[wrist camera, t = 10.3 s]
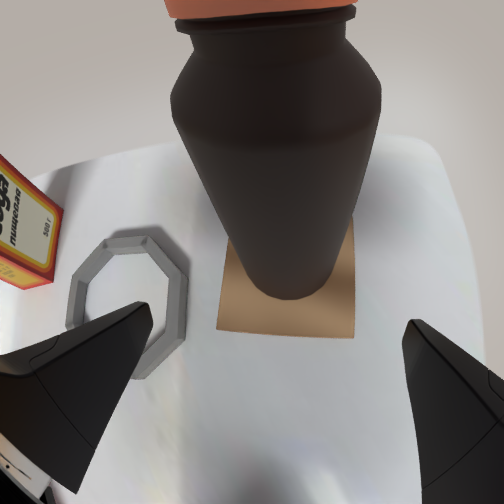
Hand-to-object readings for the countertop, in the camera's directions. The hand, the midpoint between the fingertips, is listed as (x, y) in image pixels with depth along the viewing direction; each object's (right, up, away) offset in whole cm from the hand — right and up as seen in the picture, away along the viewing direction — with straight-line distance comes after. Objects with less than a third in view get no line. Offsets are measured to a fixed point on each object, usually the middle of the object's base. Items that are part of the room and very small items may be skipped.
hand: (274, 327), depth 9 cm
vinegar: (+2, +2, +12) cm, 13 cm away
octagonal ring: (-12, -2, +13) cm, 18 cm away
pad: (+2, +1, +12) cm, 13 cm away
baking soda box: (-27, +3, +18) cm, 32 cm away
